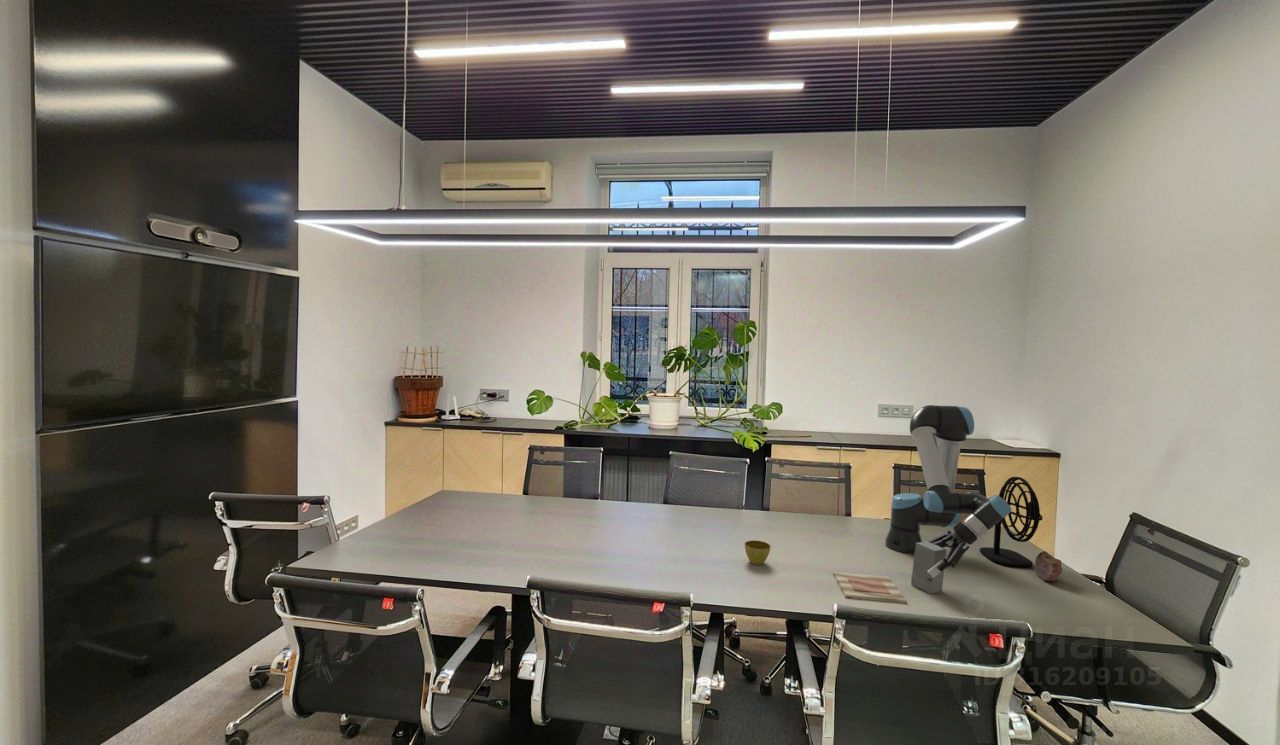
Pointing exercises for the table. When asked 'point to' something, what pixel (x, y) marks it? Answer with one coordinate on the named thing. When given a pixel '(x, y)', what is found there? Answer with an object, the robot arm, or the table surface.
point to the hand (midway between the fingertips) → (923, 567)
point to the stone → (1047, 566)
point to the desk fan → (1032, 510)
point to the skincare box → (927, 567)
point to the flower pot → (757, 551)
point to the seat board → (869, 587)
